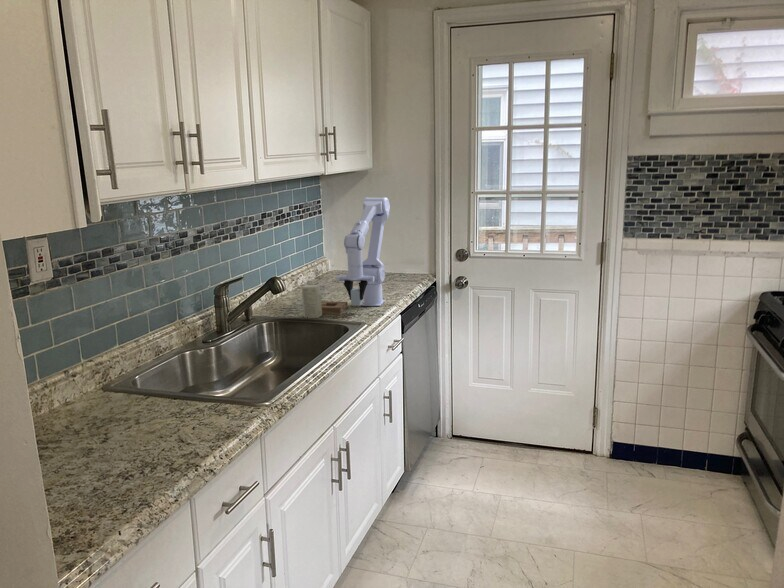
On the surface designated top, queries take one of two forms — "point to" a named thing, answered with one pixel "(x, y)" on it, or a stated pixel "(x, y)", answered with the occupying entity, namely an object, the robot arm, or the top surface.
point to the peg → (355, 297)
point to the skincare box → (311, 301)
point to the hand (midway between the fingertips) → (356, 299)
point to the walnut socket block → (333, 307)
